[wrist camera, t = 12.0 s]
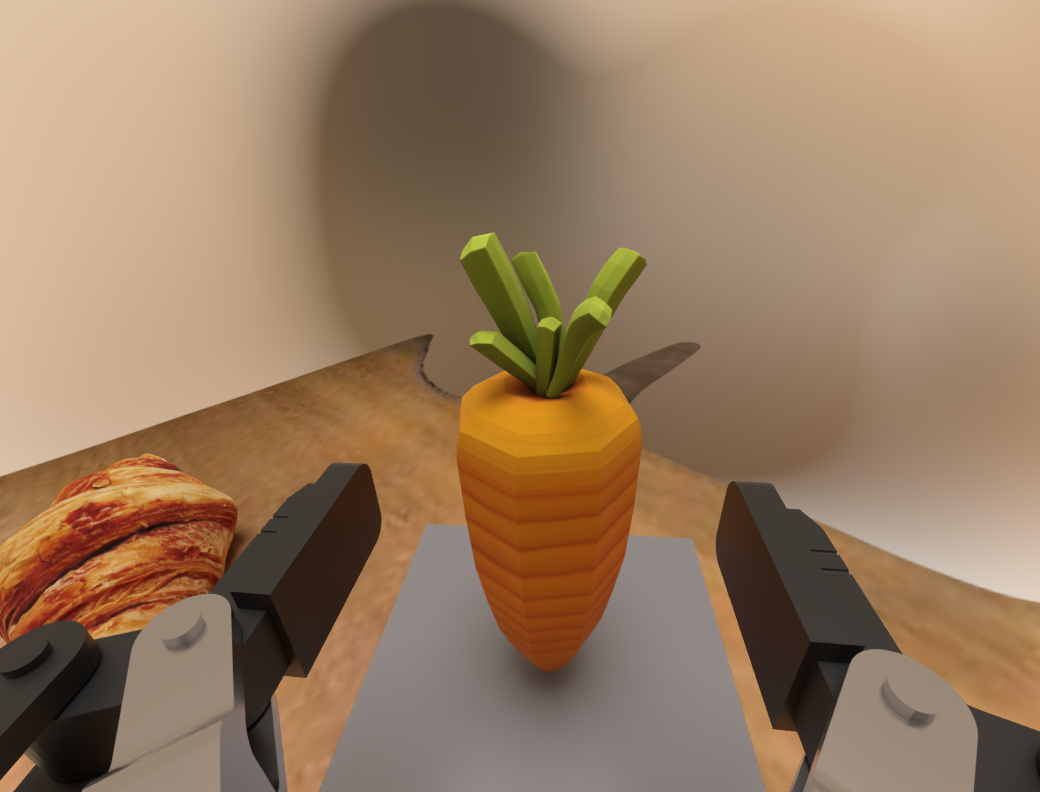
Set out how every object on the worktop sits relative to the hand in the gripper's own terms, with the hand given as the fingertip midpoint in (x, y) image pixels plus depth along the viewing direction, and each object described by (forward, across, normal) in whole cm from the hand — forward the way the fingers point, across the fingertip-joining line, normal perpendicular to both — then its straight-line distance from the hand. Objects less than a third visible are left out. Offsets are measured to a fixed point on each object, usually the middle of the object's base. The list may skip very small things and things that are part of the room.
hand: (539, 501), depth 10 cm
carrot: (+2, 0, +10) cm, 10 cm away
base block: (+2, 0, +14) cm, 14 cm away
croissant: (+7, +23, +14) cm, 28 cm away
